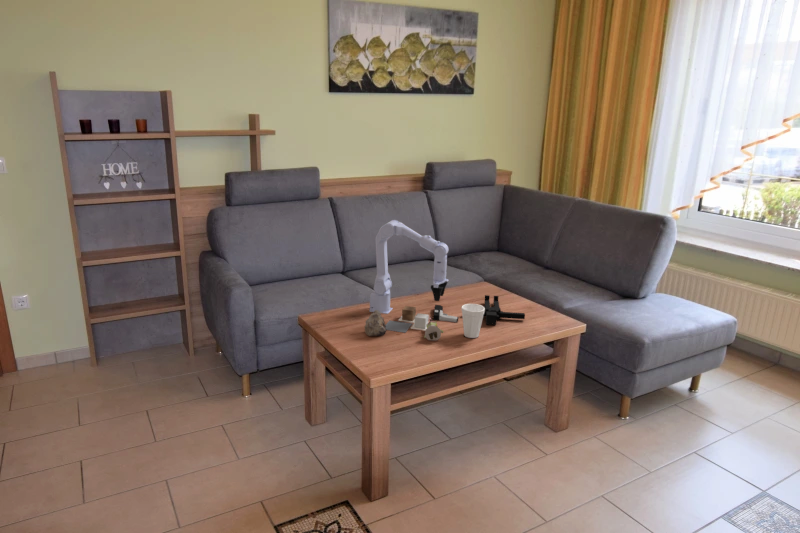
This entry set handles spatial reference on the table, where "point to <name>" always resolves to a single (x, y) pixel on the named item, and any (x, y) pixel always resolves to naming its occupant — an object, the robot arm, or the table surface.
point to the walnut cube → (408, 313)
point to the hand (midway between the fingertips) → (438, 298)
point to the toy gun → (443, 315)
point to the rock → (375, 324)
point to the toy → (498, 312)
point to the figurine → (432, 331)
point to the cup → (472, 319)
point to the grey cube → (421, 321)
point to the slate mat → (398, 326)
